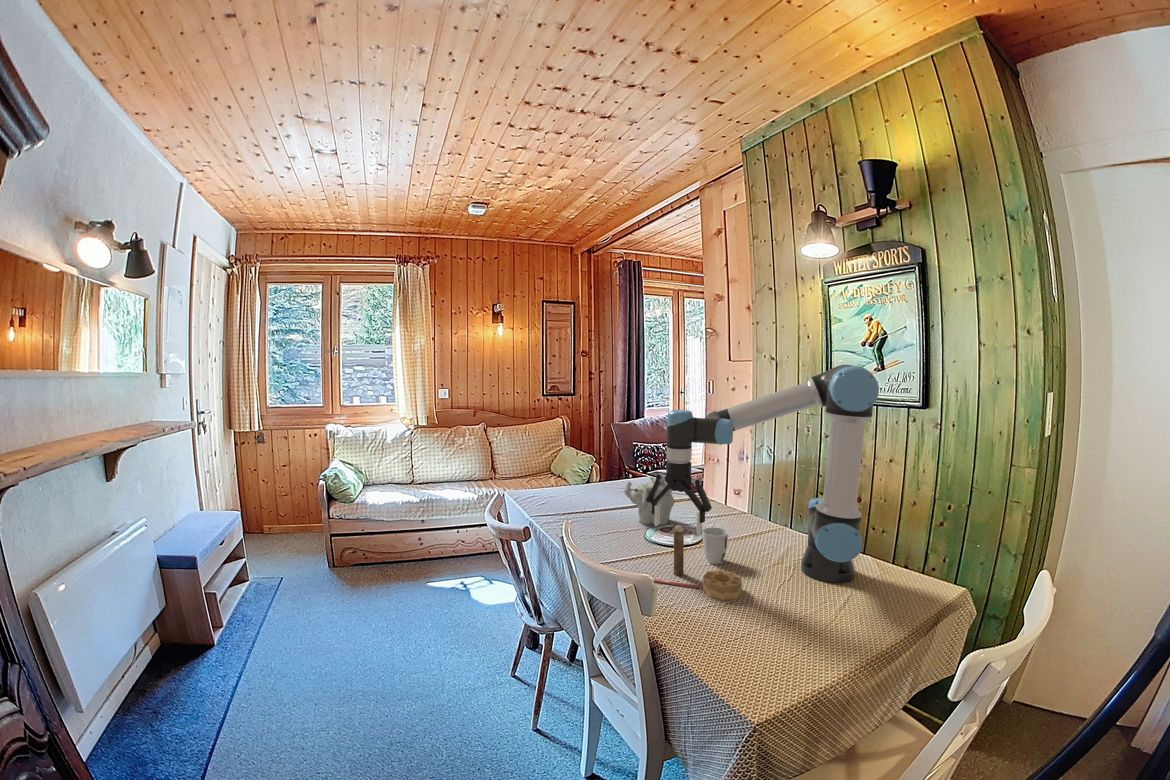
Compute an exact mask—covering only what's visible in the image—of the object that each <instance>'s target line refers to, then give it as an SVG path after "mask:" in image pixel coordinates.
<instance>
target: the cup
mask: <svg viewBox="0 0 1170 780" xmlns="http://www.w3.org/2000/svg"><path fill="white" fill-rule="evenodd" d="M728 536H729V531H728V530H727V529H725V528H721V527H706V528H705V527H704V528H702V545H703V549H704V555H705V558H706V561H707V563H709V564H712V565H721V564H723V563H724V560H725V557H726V553H727V547H728V538H729V537H728Z"/></svg>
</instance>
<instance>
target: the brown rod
mask: <svg viewBox="0 0 1170 780" xmlns="http://www.w3.org/2000/svg"><path fill="white" fill-rule="evenodd" d="M683 527H684V526H682V525H679V524H678V525H676V526H675V527H674V529H673V575H674V576H676V577H682V576H684V572H685V571H684V570H685V569H684V565H685V564H684V563H685V562H684V560H685V559H684V557H685V556H684V555H685V553H684V552H685V551H684V550H685V549H684V548H685V546H684V545H685V544H684V542H685V541H684V540H685V538H684V537H685V535H684V534H685V533H684V532H685V531H684V530H685V529H684V528H683Z"/></svg>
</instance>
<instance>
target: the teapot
mask: <svg viewBox="0 0 1170 780" xmlns="http://www.w3.org/2000/svg"><path fill="white" fill-rule="evenodd" d="M650 480H651V482H647V483H645V484H644V483H640V484H638V485H637V486H636V487H634V488H633V489H632V488H631V486H632V485H633V483H632V482H631V481H628V482H627V483H626V485H625V487H624V491H623V492H624V494H625V496H626V497H627V498H629V500H630V501H631V503H632V504H634V505H636V506H637V507H638V517H639V520H638V522H639V524H641V525H644V526H645V525H646V526H647V525H648V526H649V525H654V514H652V504H651V503H650V502H647V501H646V499H647V497H648V495H649V493H650V491H651V489H652V487H653V485H654V483H655V482H656V476H655V477H652V476H651V477H650ZM667 485H668V484H667V482H666V481H665V479H664V480H663V481H662V482H661V484H660V486H659V488H658V490H657V492H656V494H655V495H654V497H653V498H654V499H655V498H656V497H657V496H658V495H659V493H660V492H661V491H662V490H663V489H664V488H665V487H666V486H667ZM672 493H673V491H672V490H671V489H670V490H669V491H668V492H667V493H666V494H665V495H664V496H663V497H662V498H661V499H660V500H659V501H658V502H657V504H658V503H659V504H660V524H659V525H658V526H665V525H667V524H668V522H669V521H670V515H671V511H672V508H673V507H674V505H675V498H674V496H673V494H672Z"/></svg>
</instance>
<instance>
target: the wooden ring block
mask: <svg viewBox="0 0 1170 780" xmlns="http://www.w3.org/2000/svg"><path fill="white" fill-rule="evenodd" d="M742 582H743V579H742V577H740V576H739V575H737V573H735V572H731V571H727V570H721V569H718V570H717V569H716V570H710V571H707V572H706V573H705V574H704V575H703V577H702V591H703V592H704V593H705V594H706V595H707V596H709V597H710V598H713V599H718V600H723V601H728V600H729V601H730V600H736V599H738V598H739V597H740V595H741V594H742V591H743V590H742V587H743V586H742V585H743V584H742Z"/></svg>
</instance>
